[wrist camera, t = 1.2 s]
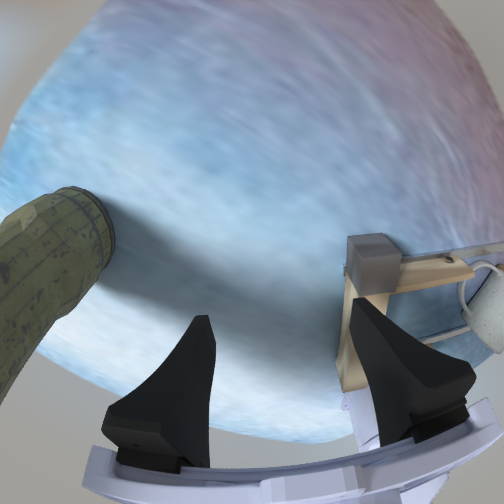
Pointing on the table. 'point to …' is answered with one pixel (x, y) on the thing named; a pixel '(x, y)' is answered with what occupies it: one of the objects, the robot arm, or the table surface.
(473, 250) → the track
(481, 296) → the ceramic mug
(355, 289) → the tan wooden bracket
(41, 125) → the table surface
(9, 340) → the thermos
